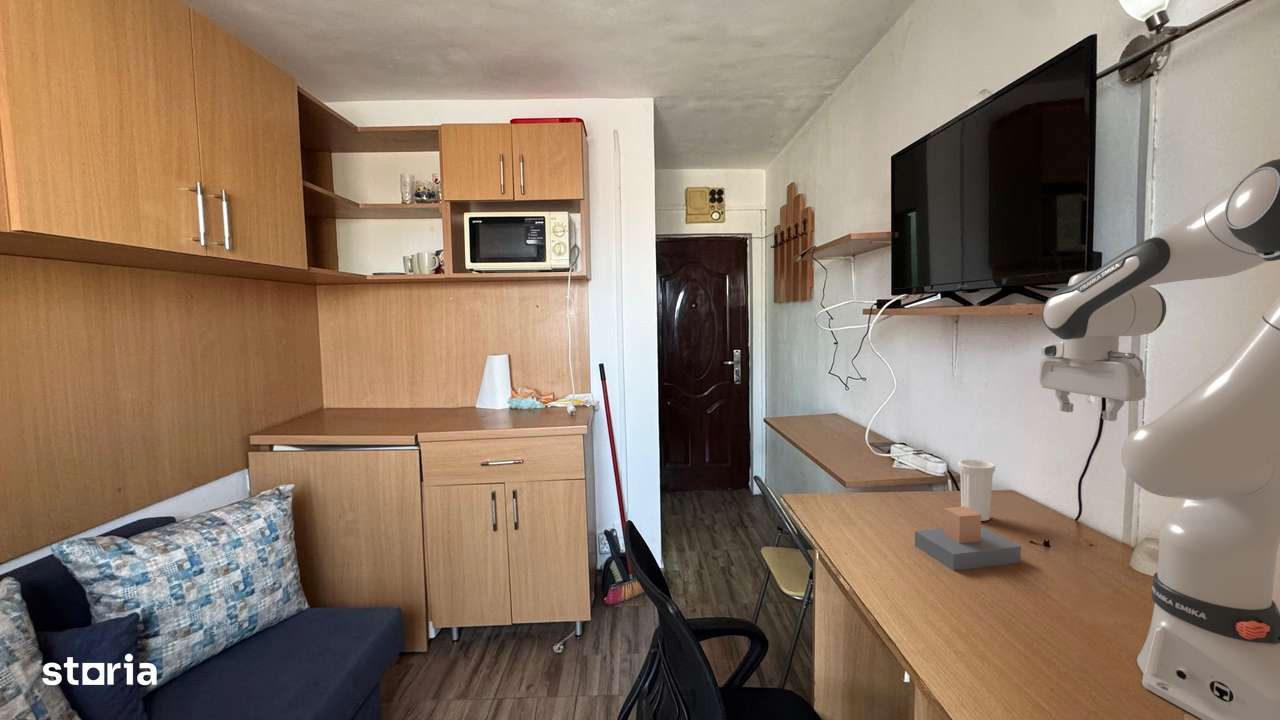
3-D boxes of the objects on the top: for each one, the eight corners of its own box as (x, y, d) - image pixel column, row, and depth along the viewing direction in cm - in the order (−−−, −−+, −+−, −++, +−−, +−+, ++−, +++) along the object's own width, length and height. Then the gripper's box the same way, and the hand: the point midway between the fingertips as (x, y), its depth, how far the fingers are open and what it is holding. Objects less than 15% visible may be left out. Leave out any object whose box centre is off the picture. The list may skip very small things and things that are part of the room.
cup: (985, 512, 140) (986, 459, 139) (1000, 524, 132) (1001, 468, 131) (951, 511, 142) (952, 458, 140) (964, 523, 134) (966, 467, 133)
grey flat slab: (1020, 564, 113) (1020, 546, 113) (953, 572, 111) (953, 554, 110) (975, 540, 125) (976, 524, 125) (914, 547, 123) (914, 530, 122)
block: (980, 541, 116) (981, 514, 115) (959, 543, 115) (959, 516, 115) (964, 531, 121) (964, 506, 120) (943, 533, 120) (943, 508, 120)
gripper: (1157, 353, 100) (1153, 425, 101) (1059, 346, 120) (1057, 406, 122) (1127, 354, 99) (1124, 427, 101) (1034, 347, 120) (1032, 408, 121)
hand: (1087, 415), depth 111 cm, fingers open, 8 cm apart
